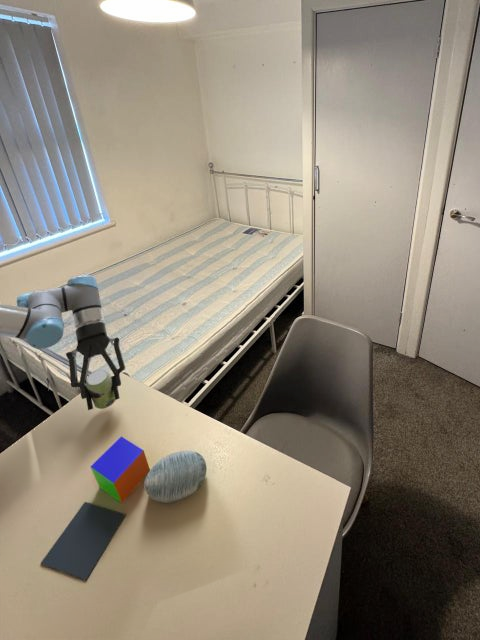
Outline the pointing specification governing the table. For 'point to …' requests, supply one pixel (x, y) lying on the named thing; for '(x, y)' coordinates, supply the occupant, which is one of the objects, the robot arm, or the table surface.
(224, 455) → the table surface
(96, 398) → the beverage can
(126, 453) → the cube
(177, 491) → the grey yarn skein
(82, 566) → the pad
